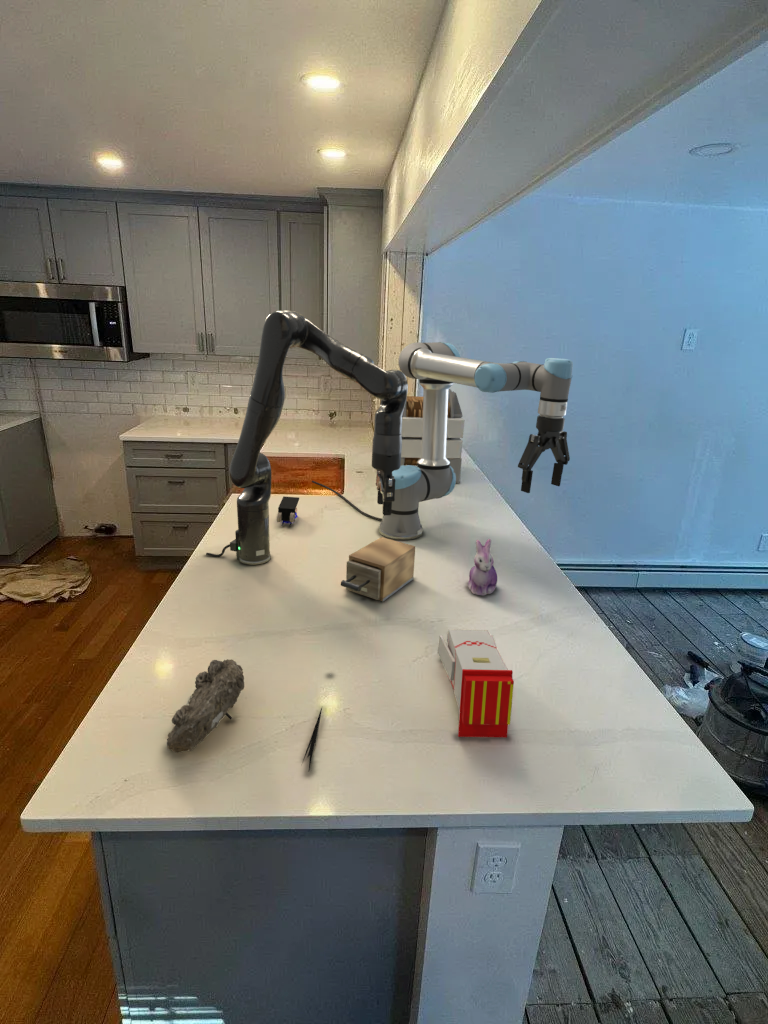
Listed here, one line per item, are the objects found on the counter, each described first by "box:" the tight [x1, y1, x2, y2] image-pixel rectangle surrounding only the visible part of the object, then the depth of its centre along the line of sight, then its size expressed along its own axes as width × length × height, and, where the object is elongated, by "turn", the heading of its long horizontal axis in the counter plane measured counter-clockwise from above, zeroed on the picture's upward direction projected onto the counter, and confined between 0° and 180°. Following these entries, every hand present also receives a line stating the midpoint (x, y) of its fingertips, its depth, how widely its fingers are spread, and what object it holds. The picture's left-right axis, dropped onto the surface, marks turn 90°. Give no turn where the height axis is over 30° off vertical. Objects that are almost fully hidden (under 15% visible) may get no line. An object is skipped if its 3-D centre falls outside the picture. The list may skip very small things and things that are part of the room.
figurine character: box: [276, 495, 300, 527], centre depth 205 cm, size 7×8×15 cm
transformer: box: [401, 388, 465, 484], centre depth 268 cm, size 34×33×41 cm
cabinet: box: [348, 536, 416, 602], centre depth 161 cm, size 17×12×10 cm
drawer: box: [340, 559, 381, 601], centre depth 157 cm, size 22×10×8 cm, turn 148°
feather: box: [301, 673, 332, 771], centre depth 108 cm, size 2×28×2 cm
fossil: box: [166, 658, 245, 754], centre depth 106 cm, size 22×10×15 cm
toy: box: [437, 628, 515, 738], centre depth 117 cm, size 12×13×30 cm
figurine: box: [467, 538, 498, 596], centre depth 160 cm, size 9×10×15 cm
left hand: (384, 509), depth 151 cm, fingers open, 8 cm apart
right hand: (540, 488), depth 165 cm, fingers open, 13 cm apart
